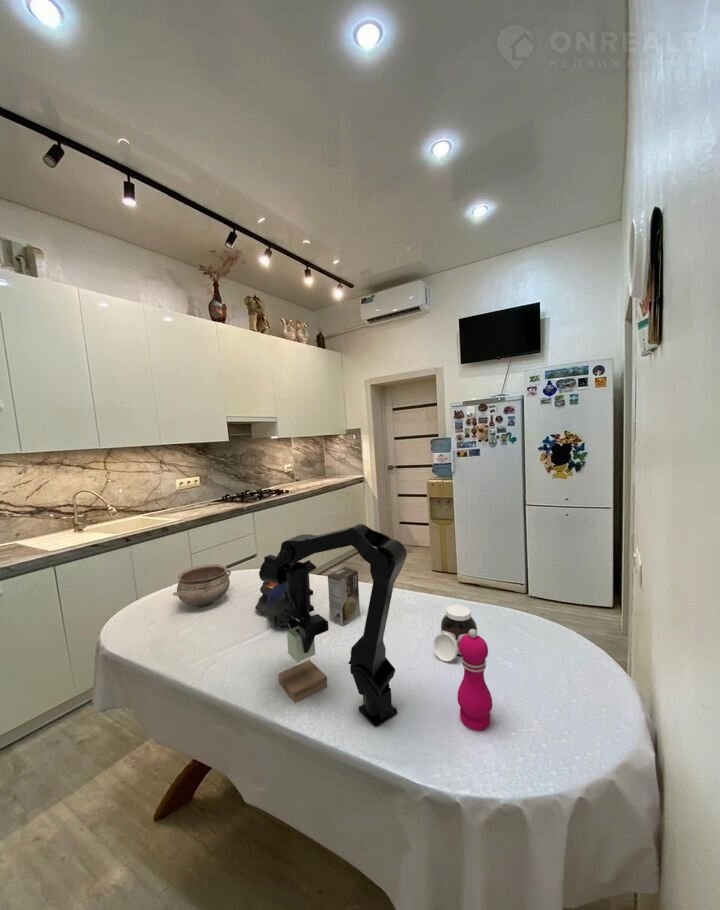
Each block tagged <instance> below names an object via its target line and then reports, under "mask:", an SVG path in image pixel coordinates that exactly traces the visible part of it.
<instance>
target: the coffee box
mask: <svg viewBox="0 0 720 910" xmlns="http://www.w3.org/2000/svg"><path fill="white" fill-rule="evenodd" d="M358 571H359V570H355V569H353V568H350V567H342V568H340V569H337V570H336V571H334V572H332V573H330V574H328V575H327V584H328V585H327V588H328V589H327V590H328V601H329V602H328V607H329V621H330V622H331V621H332V623H334V624H336V623H337V625H339V626H342V627H344V626H346V625H347V624H349V623H351V622H352V621H354V620H355V619H356V618H358V617H360V616H361V610H360V591H359V590H360V589H359V572H358ZM357 616H358V617H357Z"/></svg>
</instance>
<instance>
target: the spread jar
mask: <svg viewBox="0 0 720 910" xmlns="http://www.w3.org/2000/svg"><path fill="white" fill-rule="evenodd" d="M445 612H446V613H445V615H444V616H443V618H442V619H441V624H440V633H439V634H437V635H436V636H435V637H434V639H433V643H432V644H433V645H432V646H433V651H434V653H435V655H436V657H437V658H438V659H439V660H441V661H443V662H451V661H453V660H455V659H456V658H457V657H459V658H462V655H461V654H460V651H459V642H460V640H461V638H462V637H463V636H465V635H467V634H469V630H470V629H474V630H476V631H477V632H478V626H477V623H476V621H475V620H474V618H473V617H472V611H471V609H470V608H469V607H467V606H465V605H461V604H451V605H449V606H447V607H446V609H445Z"/></svg>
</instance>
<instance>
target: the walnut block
mask: <svg viewBox="0 0 720 910" xmlns="http://www.w3.org/2000/svg"><path fill="white" fill-rule="evenodd" d="M278 684H279V686H280V687H281V688H282V690H284V692H285V693H286V694H287V696H288V697H289V698H290V699H291V701H292V702H293V703H294V704H296V703H298V702H300V701H302V700H304V699H307V698H308V697H310V696H312V695H314V694H316V693H318V692H319V691H321V690H324V689H326V688H327V687H328V676H327V675H326V674H325V673H324V672H323V671H322V670H321V669H320V668H319V667H318V666H317V665H316V664H315V663H314V662H312V661H311V659H308V660H306V661H305V660H304V661H303V662H300V663H299V664H297V665H295V666H293V667H290V668H288V669H286V670H284V671H282V672H280V673H278Z"/></svg>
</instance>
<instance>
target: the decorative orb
mask: <svg viewBox="0 0 720 910" xmlns="http://www.w3.org/2000/svg"><path fill="white" fill-rule="evenodd" d="M286 590H287V586H286V583H284V584H282V585H280V584H277V585H275V586H274V587H273V589H272V590H271V592H270V593H269V595H268V600H267V608H269V607H270V606H272V605H273V604H274V603H275V602H276V600H277V599H280V598H283V593H284V591H286ZM282 627H289V626H288V624H287V623H285V624H284V625H283V626H282Z"/></svg>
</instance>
